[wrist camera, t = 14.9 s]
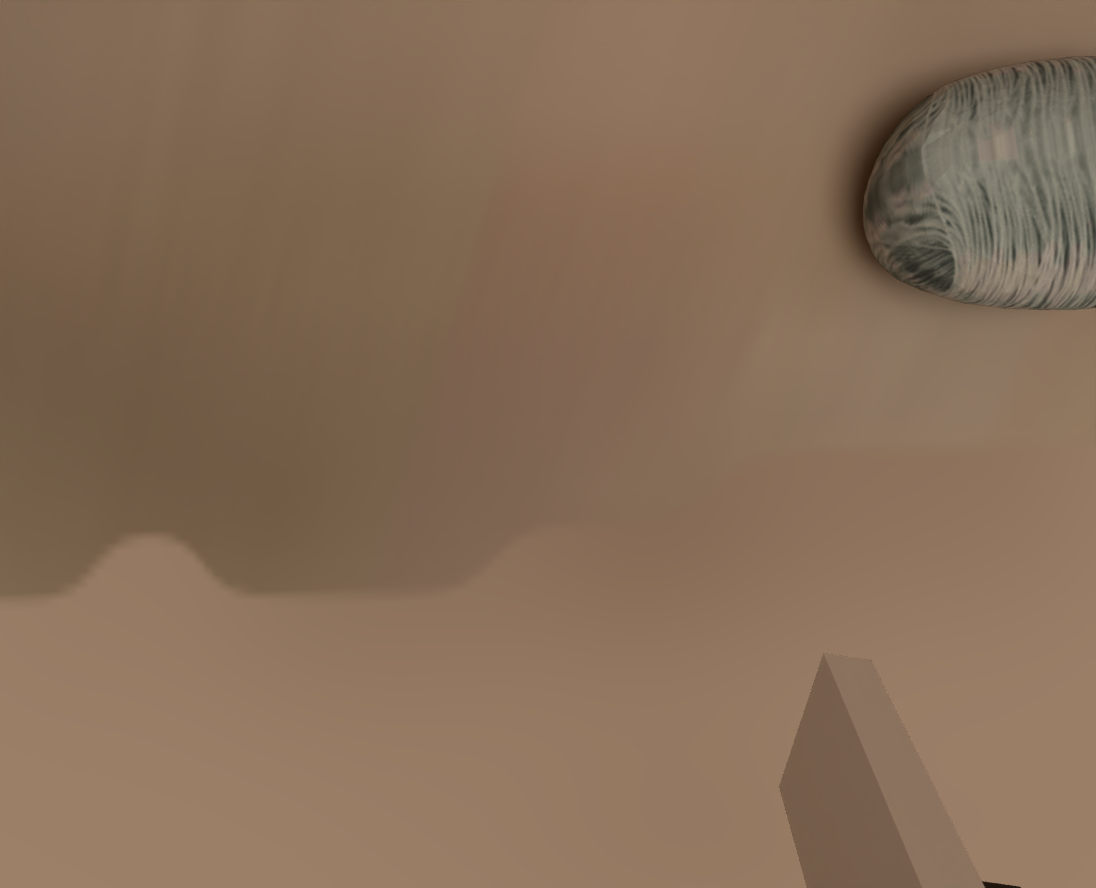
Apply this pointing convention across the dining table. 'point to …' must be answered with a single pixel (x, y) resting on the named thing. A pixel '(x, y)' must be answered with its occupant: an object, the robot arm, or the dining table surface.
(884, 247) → the grey green rounded lump
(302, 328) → the dining table surface
